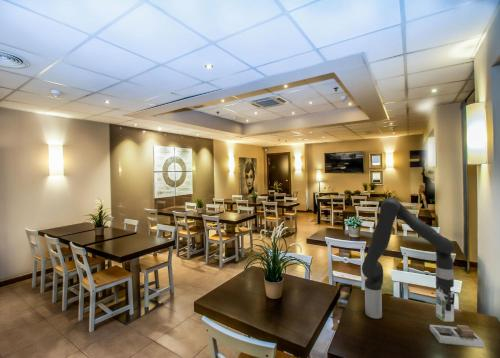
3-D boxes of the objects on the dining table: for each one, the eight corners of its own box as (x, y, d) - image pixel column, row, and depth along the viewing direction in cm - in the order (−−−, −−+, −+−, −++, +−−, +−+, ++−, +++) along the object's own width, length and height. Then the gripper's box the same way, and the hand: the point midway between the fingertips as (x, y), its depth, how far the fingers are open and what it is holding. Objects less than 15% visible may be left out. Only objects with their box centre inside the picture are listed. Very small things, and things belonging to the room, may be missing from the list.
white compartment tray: (429, 329, 140) (429, 324, 140) (469, 333, 136) (469, 328, 136) (439, 342, 130) (439, 337, 130) (483, 347, 125) (483, 341, 125)
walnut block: (456, 335, 135) (456, 324, 135) (467, 337, 134) (467, 325, 134) (462, 342, 130) (462, 330, 130) (473, 343, 129) (473, 331, 129)
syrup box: (435, 315, 137) (435, 289, 136) (446, 315, 136) (446, 289, 136) (443, 321, 131) (442, 294, 131) (454, 321, 131) (454, 294, 130)
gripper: (430, 270, 141) (430, 299, 141) (443, 281, 127) (443, 313, 127) (445, 271, 139) (445, 301, 140) (460, 282, 125) (461, 315, 126)
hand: (444, 307), depth 133 cm, fingers closed on syrup box, 6 cm apart
